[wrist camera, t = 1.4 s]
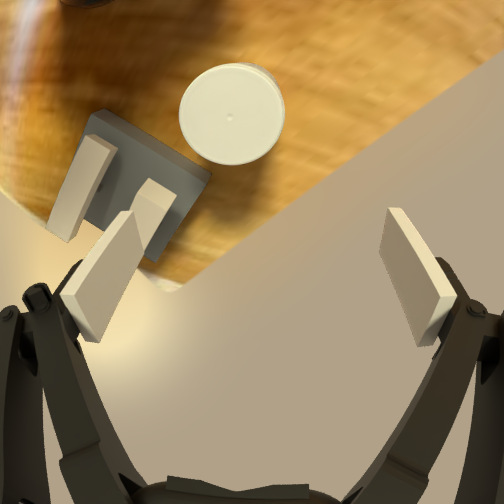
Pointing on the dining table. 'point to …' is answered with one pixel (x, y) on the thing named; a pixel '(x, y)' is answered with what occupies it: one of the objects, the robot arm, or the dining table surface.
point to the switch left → (80, 186)
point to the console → (141, 177)
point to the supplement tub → (232, 113)
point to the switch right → (150, 208)
